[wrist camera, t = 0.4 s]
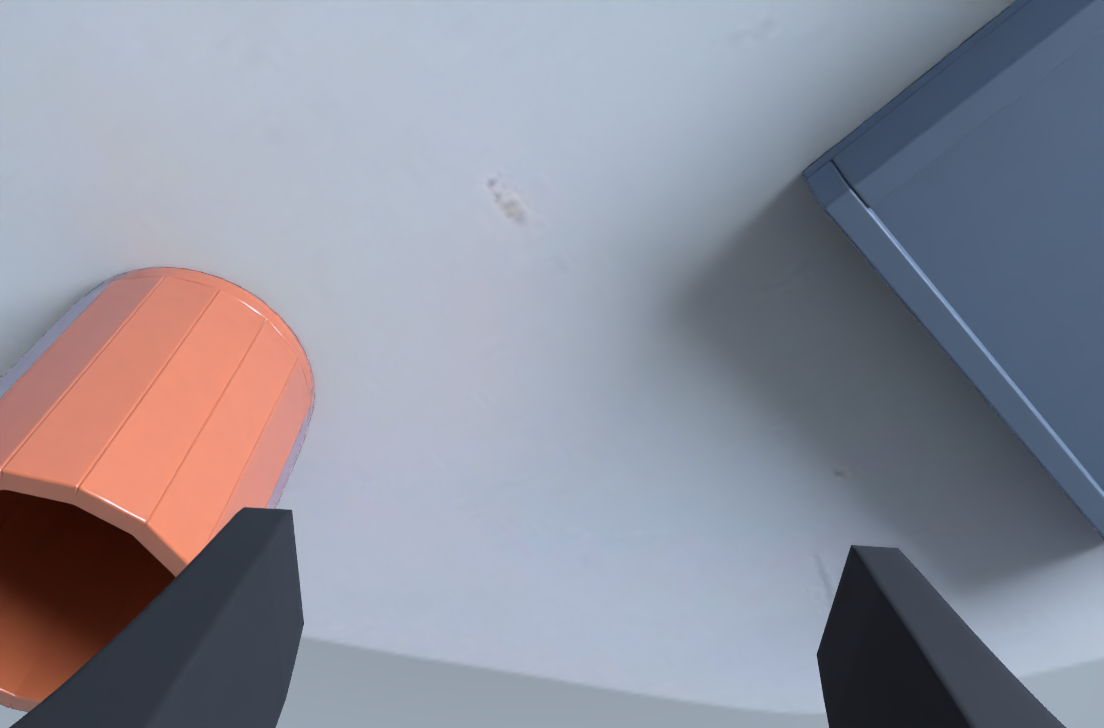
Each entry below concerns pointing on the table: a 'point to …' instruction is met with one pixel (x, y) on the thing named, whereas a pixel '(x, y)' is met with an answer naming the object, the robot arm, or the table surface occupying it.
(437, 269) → the table surface
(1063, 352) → the tray
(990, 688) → the robot arm
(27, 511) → the cup
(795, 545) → the table surface
